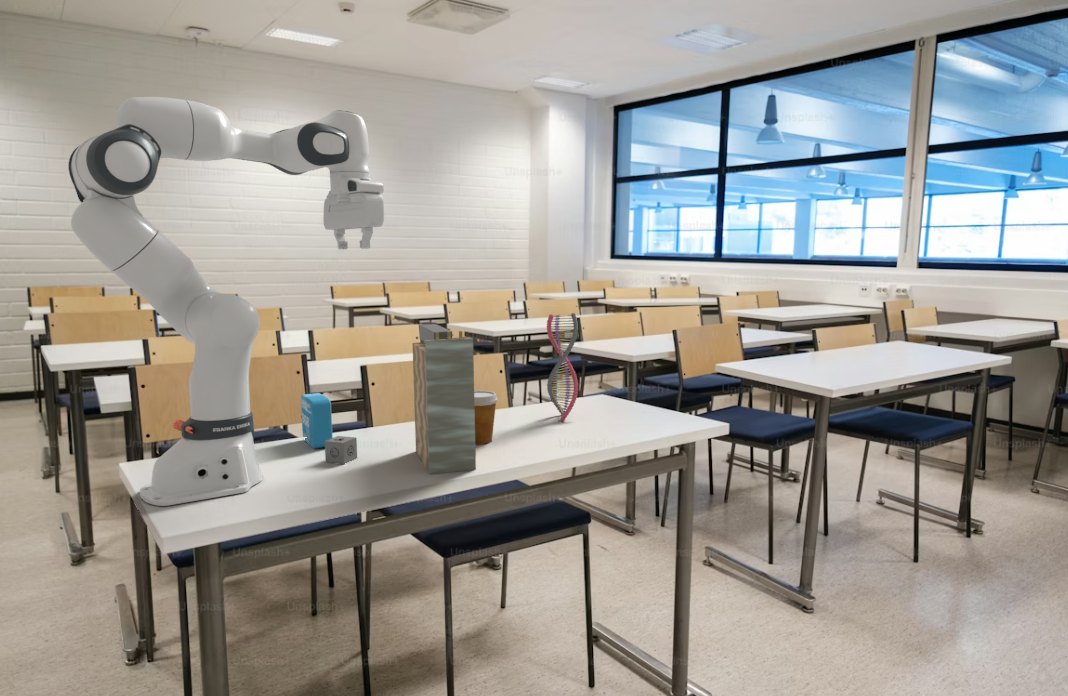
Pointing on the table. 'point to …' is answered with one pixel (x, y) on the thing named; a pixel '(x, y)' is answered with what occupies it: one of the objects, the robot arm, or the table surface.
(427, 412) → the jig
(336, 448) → the dice cube
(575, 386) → the dna model
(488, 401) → the disposable coffee cup
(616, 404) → the table surface
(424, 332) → the grey rectangular bar
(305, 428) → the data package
